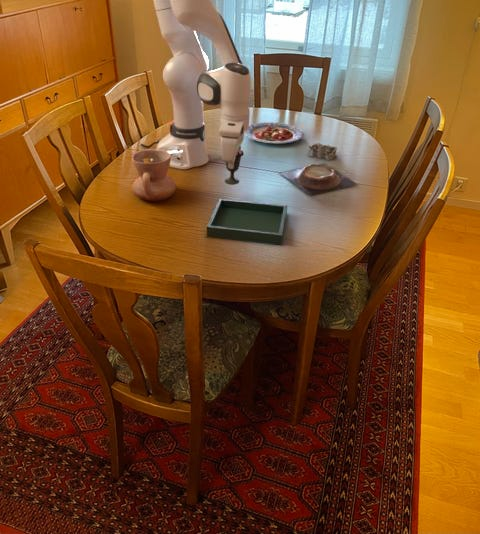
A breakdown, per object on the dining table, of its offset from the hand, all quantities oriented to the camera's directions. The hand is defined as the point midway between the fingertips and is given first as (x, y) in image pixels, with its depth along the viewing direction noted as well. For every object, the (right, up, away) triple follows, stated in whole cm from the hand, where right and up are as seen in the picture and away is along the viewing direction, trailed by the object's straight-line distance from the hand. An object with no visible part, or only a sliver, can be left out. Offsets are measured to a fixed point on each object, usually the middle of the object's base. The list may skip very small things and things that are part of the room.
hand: (232, 164), depth 146 cm
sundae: (0, -5, +4) cm, 6 cm away
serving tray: (+5, -20, -7) cm, 22 cm away
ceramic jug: (-27, -9, +7) cm, 29 cm away
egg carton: (+36, +12, +39) cm, 55 cm away
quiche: (+31, -1, +21) cm, 38 cm away
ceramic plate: (+17, +24, +55) cm, 62 cm away
